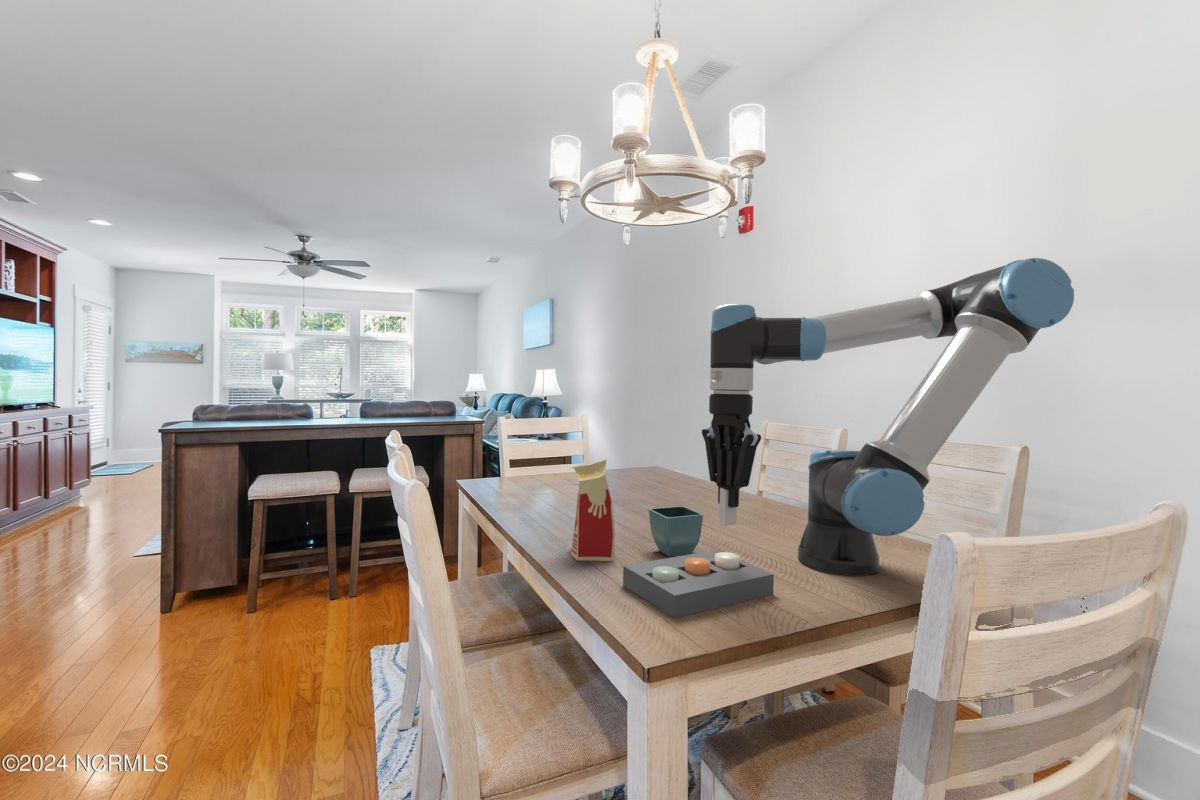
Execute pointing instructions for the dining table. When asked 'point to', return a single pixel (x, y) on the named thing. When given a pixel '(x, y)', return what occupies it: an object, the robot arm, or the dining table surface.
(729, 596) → the button panel
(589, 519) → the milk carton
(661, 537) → the flower pot
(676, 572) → the sage button
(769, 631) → the dining table surface
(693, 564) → the orange button
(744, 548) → the dining table surface
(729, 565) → the cream button
